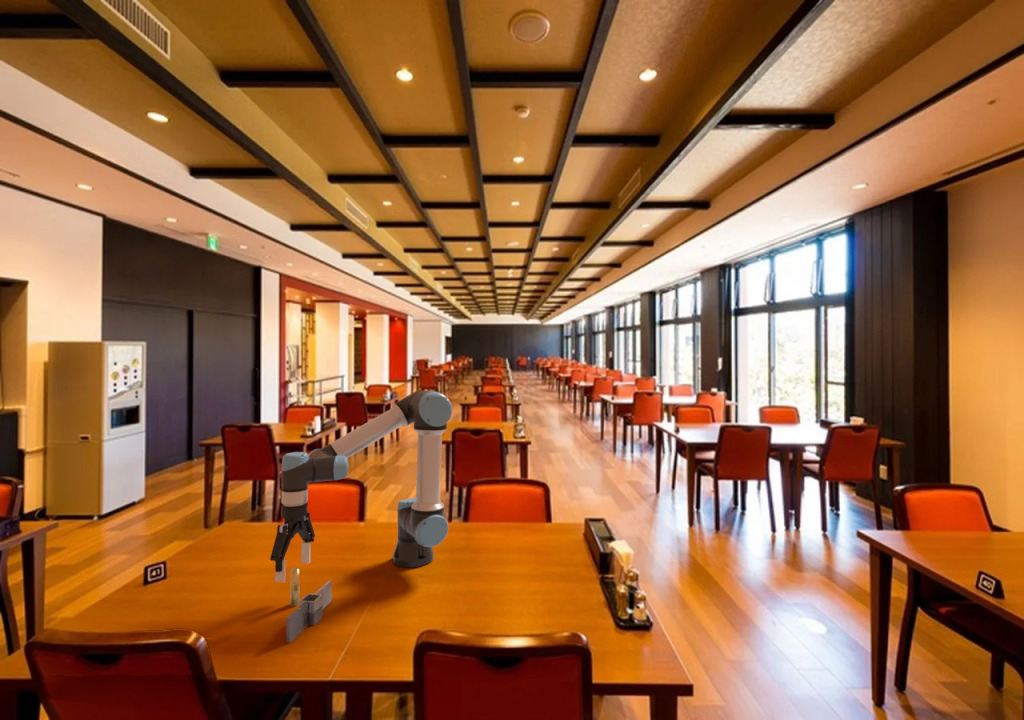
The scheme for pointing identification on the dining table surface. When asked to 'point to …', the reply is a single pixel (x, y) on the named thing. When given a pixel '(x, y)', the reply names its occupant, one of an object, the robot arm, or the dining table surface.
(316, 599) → the leaf
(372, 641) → the dining table surface
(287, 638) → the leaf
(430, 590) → the dining table surface
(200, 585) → the dining table surface
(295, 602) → the pin
